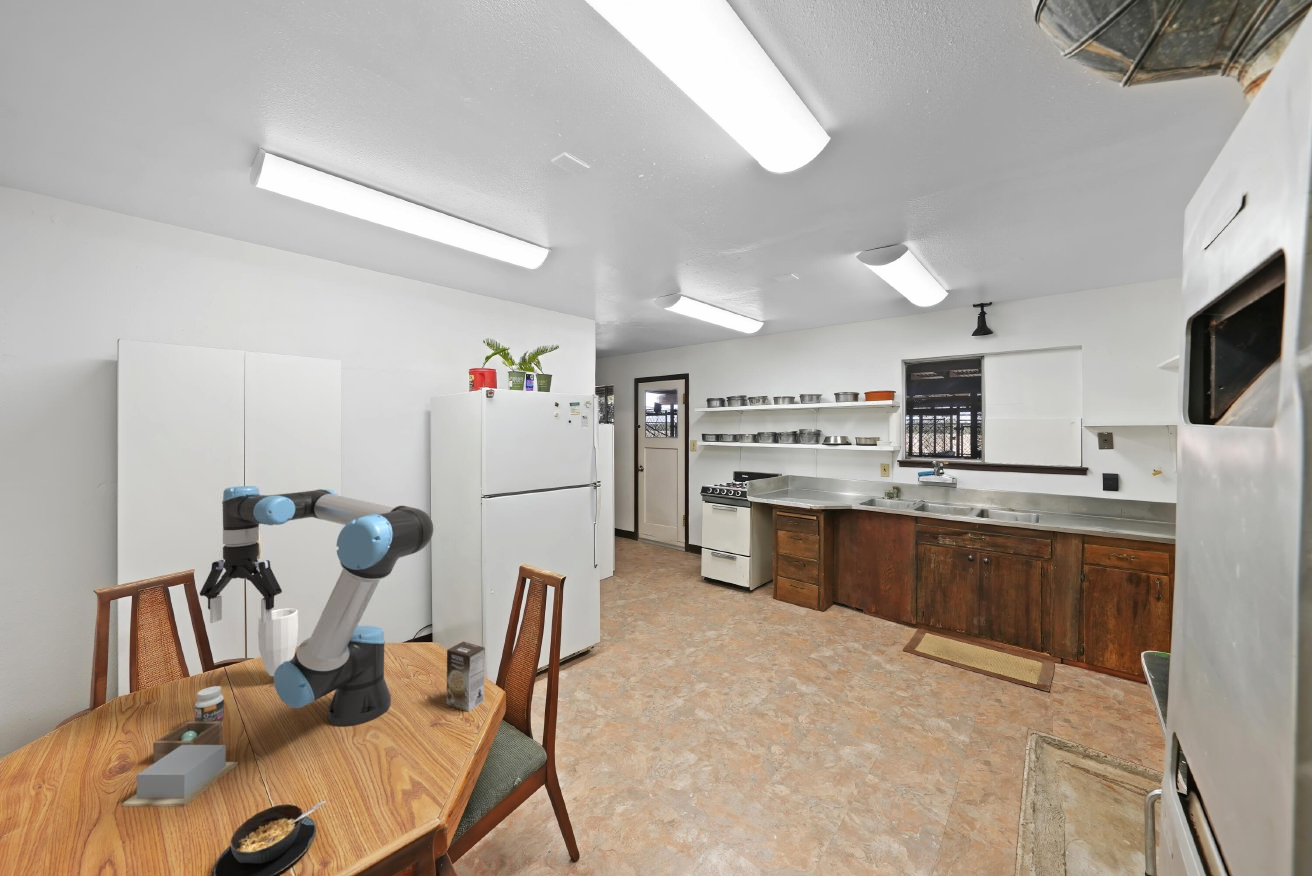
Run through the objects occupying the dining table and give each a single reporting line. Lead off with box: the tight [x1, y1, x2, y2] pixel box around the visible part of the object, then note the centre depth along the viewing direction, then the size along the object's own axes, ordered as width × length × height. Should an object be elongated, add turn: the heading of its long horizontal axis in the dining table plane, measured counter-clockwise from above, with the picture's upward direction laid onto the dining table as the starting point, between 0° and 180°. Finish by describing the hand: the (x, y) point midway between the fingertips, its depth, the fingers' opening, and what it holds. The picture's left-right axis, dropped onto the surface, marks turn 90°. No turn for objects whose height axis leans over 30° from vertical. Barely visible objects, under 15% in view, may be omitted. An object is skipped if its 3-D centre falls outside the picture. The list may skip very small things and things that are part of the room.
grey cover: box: [136, 744, 227, 798], centre depth 109 cm, size 10×10×5 cm
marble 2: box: [182, 737, 193, 741], centre depth 119 cm, size 3×3×3 cm
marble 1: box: [180, 731, 197, 741], centre depth 122 cm, size 3×3×3 cm
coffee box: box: [446, 641, 486, 712], centre depth 142 cm, size 9×6×16 cm
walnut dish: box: [152, 720, 223, 764], centre depth 120 cm, size 9×9×5 cm
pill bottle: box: [194, 685, 225, 725], centre depth 130 cm, size 6×6×10 cm
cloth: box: [121, 761, 238, 807], centre depth 109 cm, size 13×13×1 cm
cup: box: [257, 607, 299, 677], centre depth 154 cm, size 10×10×22 cm
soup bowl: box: [212, 800, 327, 876], centre depth 91 cm, size 15×16×7 cm
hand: (241, 621), depth 134 cm, fingers open, 13 cm apart
